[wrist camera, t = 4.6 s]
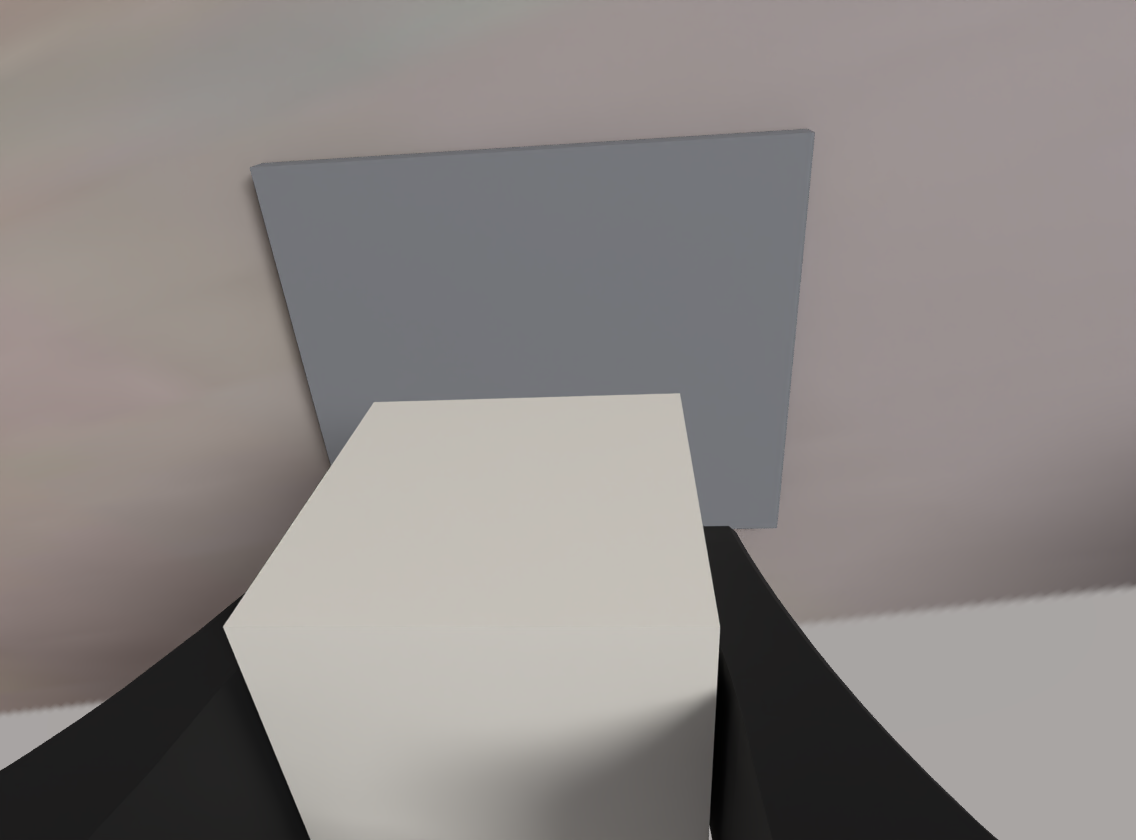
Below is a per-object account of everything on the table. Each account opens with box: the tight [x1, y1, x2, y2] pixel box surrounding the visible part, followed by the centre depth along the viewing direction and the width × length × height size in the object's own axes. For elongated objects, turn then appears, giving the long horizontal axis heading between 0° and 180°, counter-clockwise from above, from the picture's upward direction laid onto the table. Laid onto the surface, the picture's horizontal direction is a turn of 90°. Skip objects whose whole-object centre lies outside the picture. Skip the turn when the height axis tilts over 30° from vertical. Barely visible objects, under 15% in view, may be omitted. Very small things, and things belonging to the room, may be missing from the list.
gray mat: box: [250, 129, 815, 529], centre depth 17 cm, size 12×10×1 cm
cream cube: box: [223, 393, 720, 840], centre depth 9 cm, size 4×4×4 cm
